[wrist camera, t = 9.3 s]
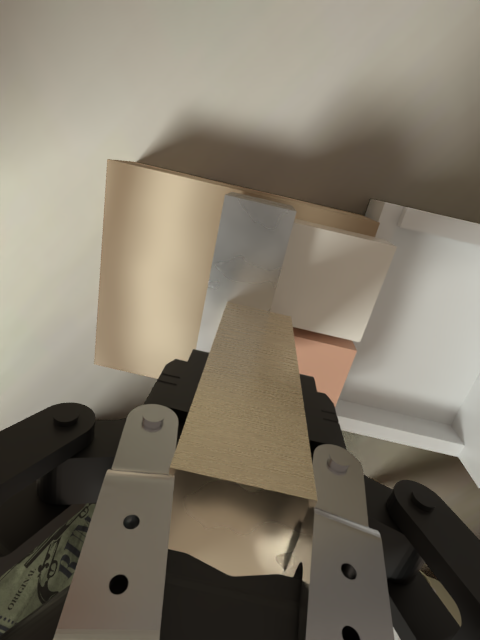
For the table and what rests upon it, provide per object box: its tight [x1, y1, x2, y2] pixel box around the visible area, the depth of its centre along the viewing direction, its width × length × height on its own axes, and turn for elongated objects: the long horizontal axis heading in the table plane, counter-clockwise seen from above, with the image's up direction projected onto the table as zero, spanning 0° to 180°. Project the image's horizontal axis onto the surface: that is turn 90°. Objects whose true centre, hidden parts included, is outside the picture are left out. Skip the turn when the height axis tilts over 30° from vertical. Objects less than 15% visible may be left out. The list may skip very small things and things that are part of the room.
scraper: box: [168, 192, 318, 576], centre depth 14 cm, size 4×12×13 cm, turn 168°
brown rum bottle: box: [0, 503, 96, 635], centre depth 19 cm, size 11×11×25 cm
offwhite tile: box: [270, 219, 397, 342], centre depth 18 cm, size 5×5×2 cm
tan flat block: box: [94, 159, 380, 379], centre depth 22 cm, size 14×12×4 cm
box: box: [335, 199, 480, 488], centre depth 21 cm, size 11×14×6 cm
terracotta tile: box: [293, 327, 357, 406], centre depth 20 cm, size 5×5×2 cm
